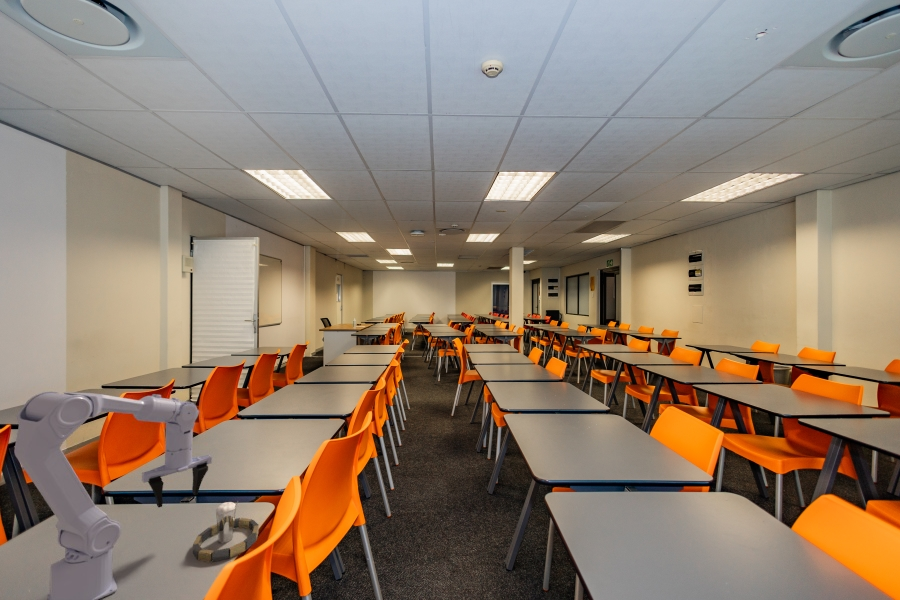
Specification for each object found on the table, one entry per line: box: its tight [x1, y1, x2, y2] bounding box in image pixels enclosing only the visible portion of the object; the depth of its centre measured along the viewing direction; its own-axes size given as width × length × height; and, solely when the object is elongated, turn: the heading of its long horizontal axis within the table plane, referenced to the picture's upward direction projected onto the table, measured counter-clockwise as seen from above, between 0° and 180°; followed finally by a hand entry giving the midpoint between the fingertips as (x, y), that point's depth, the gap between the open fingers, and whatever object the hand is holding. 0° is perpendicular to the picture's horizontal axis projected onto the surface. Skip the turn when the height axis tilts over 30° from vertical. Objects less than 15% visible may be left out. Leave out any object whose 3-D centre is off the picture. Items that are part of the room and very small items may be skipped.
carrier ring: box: [192, 517, 260, 563], centre depth 93 cm, size 14×14×2 cm
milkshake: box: [215, 500, 239, 544], centre depth 94 cm, size 5×5×10 cm
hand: (177, 499), depth 94 cm, fingers open, 7 cm apart
